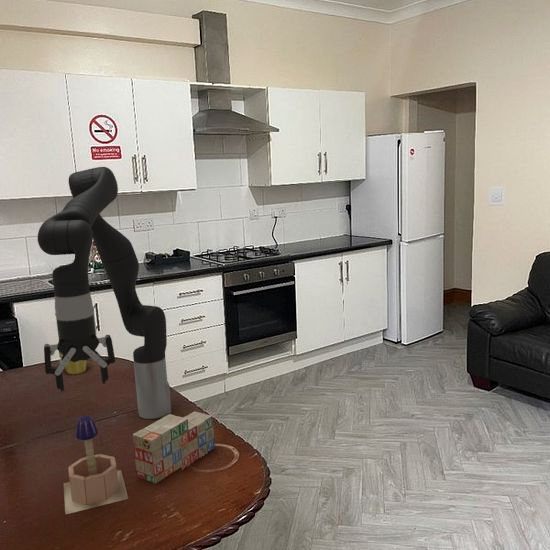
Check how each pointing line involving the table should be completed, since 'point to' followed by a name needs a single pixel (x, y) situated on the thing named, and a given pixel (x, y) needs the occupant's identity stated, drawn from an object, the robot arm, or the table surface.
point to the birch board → (75, 507)
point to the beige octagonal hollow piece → (93, 480)
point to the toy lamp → (88, 440)
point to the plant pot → (75, 366)
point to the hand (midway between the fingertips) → (83, 386)
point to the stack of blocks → (172, 444)
